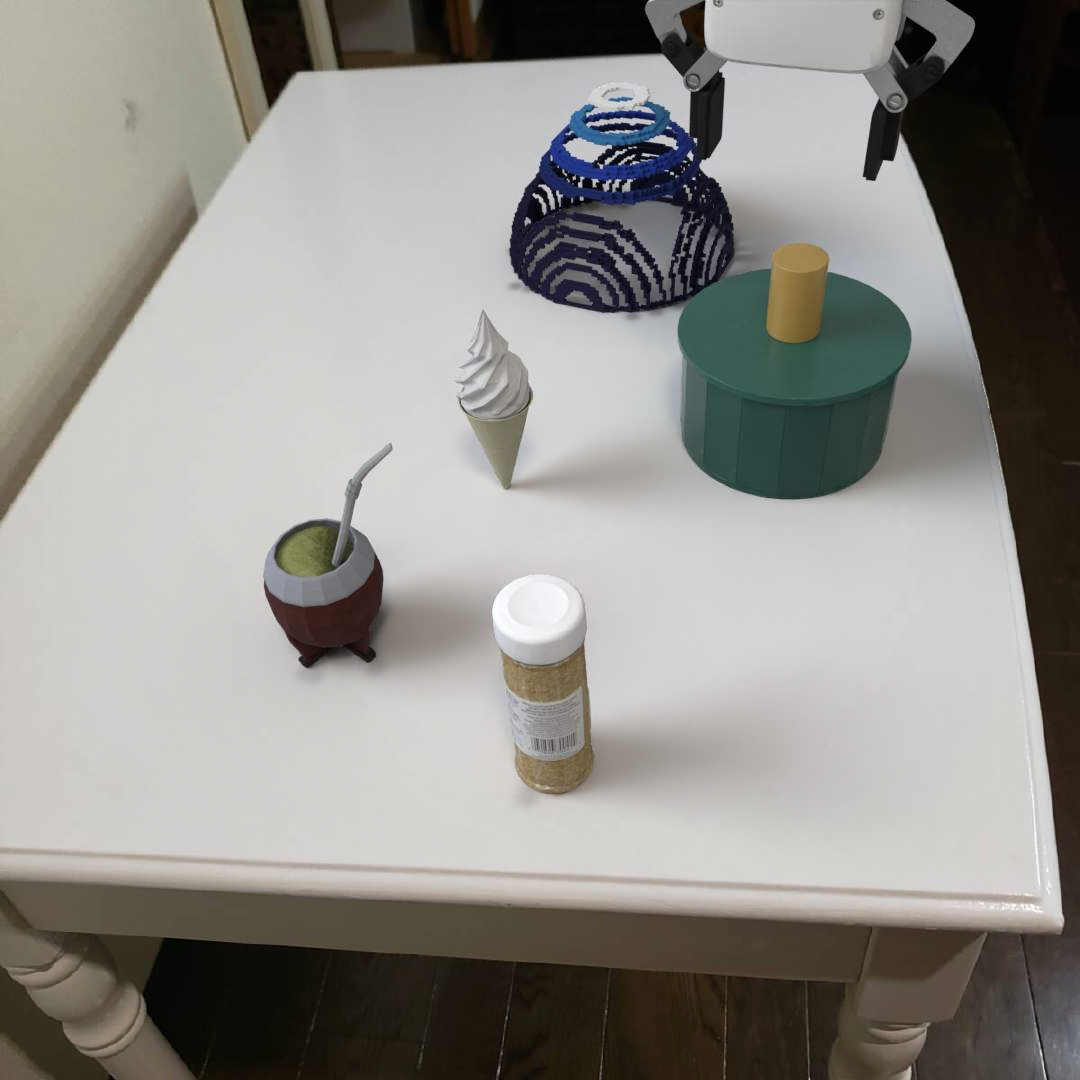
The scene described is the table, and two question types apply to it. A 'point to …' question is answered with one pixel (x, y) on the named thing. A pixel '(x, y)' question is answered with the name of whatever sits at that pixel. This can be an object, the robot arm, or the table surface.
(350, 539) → the mate gourd
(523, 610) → the sprinkles bottle
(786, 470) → the tin
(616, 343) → the table surface
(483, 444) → the ice cream cone
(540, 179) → the decorative bowl
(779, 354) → the lid
